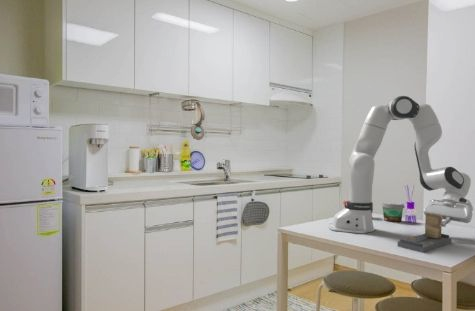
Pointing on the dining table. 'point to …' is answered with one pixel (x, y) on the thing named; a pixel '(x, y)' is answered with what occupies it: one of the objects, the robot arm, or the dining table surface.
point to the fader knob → (433, 225)
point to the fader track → (424, 242)
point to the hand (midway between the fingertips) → (441, 225)
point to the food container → (392, 212)
